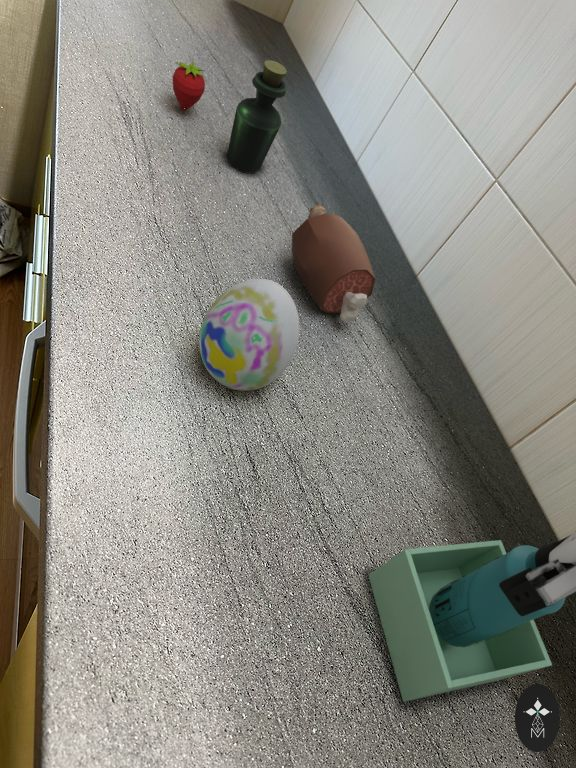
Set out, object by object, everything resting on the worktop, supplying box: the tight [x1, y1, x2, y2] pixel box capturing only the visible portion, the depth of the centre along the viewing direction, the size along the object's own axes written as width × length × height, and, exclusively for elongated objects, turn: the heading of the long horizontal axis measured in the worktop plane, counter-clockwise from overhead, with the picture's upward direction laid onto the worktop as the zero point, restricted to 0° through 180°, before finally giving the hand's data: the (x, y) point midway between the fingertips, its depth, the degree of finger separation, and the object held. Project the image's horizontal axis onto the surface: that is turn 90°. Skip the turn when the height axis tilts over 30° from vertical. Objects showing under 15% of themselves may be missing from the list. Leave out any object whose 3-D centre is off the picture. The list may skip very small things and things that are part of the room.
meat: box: [291, 204, 376, 324], centre depth 89 cm, size 20×12×10 cm, turn 21°
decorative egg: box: [198, 278, 300, 392], centre depth 72 cm, size 12×12×15 cm
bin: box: [367, 539, 553, 703], centre depth 62 cm, size 13×13×8 cm
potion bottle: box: [226, 59, 288, 174], centre depth 99 cm, size 8×8×18 cm
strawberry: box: [171, 56, 206, 112], centre depth 105 cm, size 6×8×10 cm
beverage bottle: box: [429, 540, 573, 647], centre depth 57 cm, size 6×7×20 cm
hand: (534, 580), depth 53 cm, fingers closed on beverage bottle, 6 cm apart
